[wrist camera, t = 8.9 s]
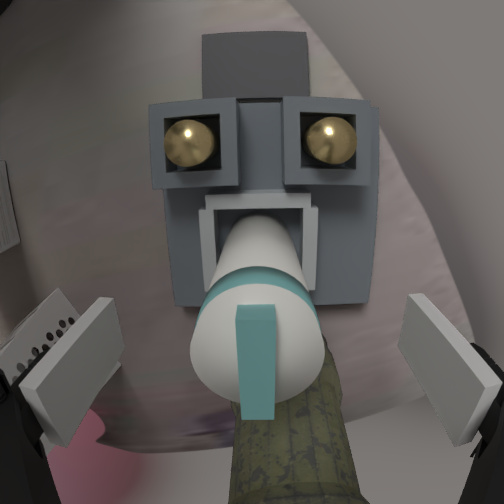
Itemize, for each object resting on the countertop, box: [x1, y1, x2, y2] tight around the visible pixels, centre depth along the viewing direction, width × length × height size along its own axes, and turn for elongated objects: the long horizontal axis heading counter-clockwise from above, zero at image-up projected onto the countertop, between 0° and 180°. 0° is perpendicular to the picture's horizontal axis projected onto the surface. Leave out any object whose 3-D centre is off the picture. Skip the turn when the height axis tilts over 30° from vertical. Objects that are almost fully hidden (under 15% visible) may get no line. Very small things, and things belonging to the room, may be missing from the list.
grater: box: [0, 287, 122, 456], centre depth 21 cm, size 10×10×20 cm
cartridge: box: [190, 211, 325, 420], centre depth 17 cm, size 5×5×15 cm
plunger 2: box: [302, 117, 357, 164], centre depth 19 cm, size 3×3×4 cm
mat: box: [202, 31, 309, 99], centre depth 22 cm, size 6×8×1 cm
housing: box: [149, 96, 379, 307], centre depth 23 cm, size 16×16×5 cm
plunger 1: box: [164, 120, 219, 167], centre depth 20 cm, size 3×3×4 cm
